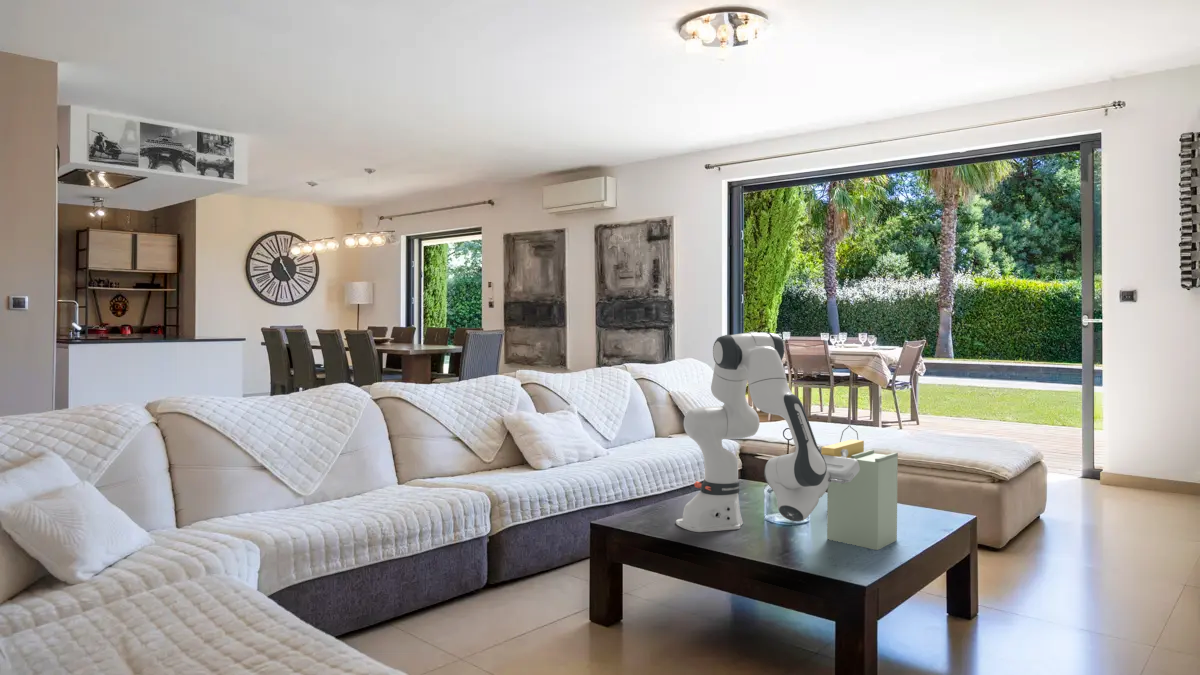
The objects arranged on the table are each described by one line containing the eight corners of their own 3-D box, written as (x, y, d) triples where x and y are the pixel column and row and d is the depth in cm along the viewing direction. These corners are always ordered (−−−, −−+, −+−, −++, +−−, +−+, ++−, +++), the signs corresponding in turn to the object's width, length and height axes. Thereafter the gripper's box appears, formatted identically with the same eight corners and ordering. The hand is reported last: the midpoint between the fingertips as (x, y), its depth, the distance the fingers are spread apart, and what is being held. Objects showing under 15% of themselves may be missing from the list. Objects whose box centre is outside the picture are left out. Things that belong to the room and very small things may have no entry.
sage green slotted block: (877, 550, 228) (878, 459, 228) (827, 539, 239) (827, 452, 239) (896, 540, 239) (897, 452, 238) (847, 530, 249) (848, 447, 249)
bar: (834, 462, 228) (834, 448, 228) (821, 460, 231) (821, 447, 231) (863, 453, 243) (863, 440, 243) (851, 451, 245) (851, 439, 245)
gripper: (846, 475, 215) (865, 445, 224) (780, 465, 229) (801, 437, 238) (851, 492, 218) (869, 462, 226) (786, 482, 232) (806, 453, 240)
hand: (834, 449), depth 232 cm, fingers open, 6 cm apart
